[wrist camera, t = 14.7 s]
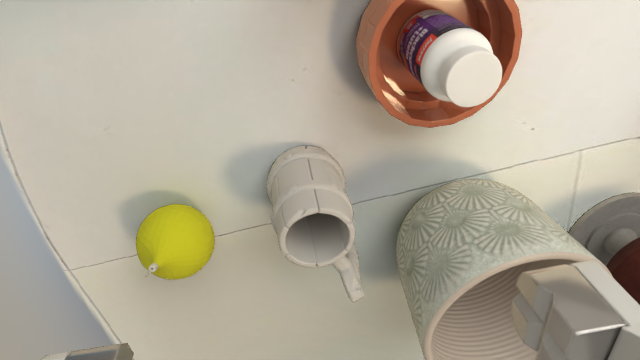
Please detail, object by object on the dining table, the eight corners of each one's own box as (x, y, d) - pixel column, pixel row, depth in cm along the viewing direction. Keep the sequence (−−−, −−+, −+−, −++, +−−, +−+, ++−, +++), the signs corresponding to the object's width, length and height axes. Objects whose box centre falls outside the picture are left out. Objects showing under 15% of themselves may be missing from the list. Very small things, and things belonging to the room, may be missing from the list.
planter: (504, 127, 44) (608, 218, 31) (534, 235, 53) (624, 341, 40) (354, 200, 46) (394, 313, 34) (407, 292, 56) (455, 408, 43)
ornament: (153, 181, 42) (129, 251, 33) (225, 200, 44) (220, 270, 36) (137, 236, 45) (112, 313, 37) (205, 251, 47) (196, 326, 39)
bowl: (351, -30, 34) (366, -20, 30) (500, -48, 35) (534, -41, 31) (358, 112, 41) (370, 136, 37) (483, 94, 42) (509, 116, 38)
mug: (316, 127, 41) (339, 201, 31) (373, 208, 47) (406, 290, 37) (250, 168, 43) (251, 251, 33) (313, 241, 49) (331, 330, 39)
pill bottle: (397, 10, 36) (440, 43, 28) (459, 5, 36) (521, 36, 28) (393, 74, 39) (432, 120, 31) (451, 69, 39) (504, 113, 31)
